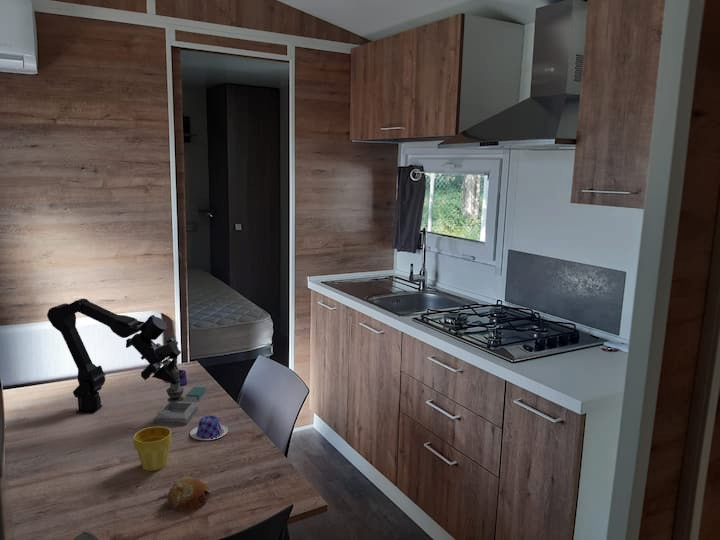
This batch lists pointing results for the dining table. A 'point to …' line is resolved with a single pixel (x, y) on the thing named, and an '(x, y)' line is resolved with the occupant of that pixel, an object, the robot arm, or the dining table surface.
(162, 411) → the square frying pan
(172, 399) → the chess piece
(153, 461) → the plant pot
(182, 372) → the lever
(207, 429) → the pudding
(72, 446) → the dining table surface
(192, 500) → the bread roll
